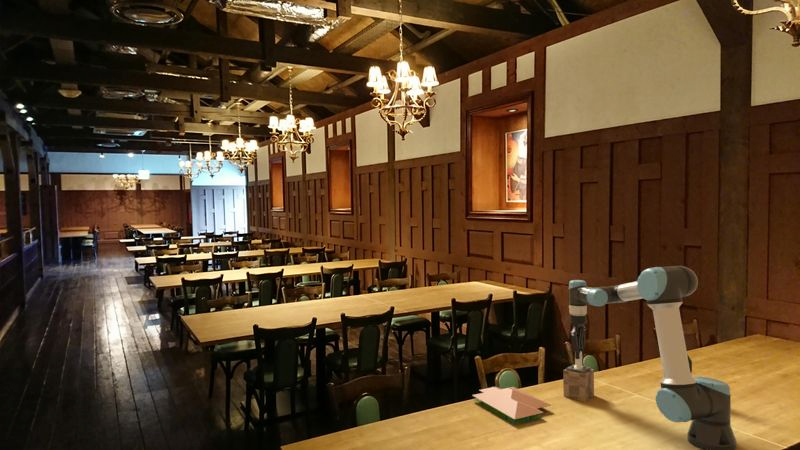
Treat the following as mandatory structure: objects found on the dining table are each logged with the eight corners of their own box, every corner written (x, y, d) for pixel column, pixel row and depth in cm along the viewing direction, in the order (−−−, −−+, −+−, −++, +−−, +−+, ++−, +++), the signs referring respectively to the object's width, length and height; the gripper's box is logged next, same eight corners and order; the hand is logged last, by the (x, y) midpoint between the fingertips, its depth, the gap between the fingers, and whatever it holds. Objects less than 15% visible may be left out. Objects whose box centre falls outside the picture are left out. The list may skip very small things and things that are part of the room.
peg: (581, 394, 230) (580, 368, 230) (572, 392, 233) (572, 366, 233) (584, 392, 233) (584, 366, 233) (576, 390, 236) (576, 364, 236)
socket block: (584, 401, 226) (584, 372, 226) (563, 396, 233) (563, 368, 233) (594, 395, 233) (593, 367, 233) (573, 390, 240) (572, 363, 240)
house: (509, 391, 241) (509, 374, 241) (559, 416, 211) (558, 397, 211) (468, 400, 231) (468, 382, 231) (514, 427, 202) (514, 407, 201)
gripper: (576, 311, 240) (576, 360, 240) (563, 315, 230) (564, 367, 230) (591, 312, 234) (592, 363, 235) (579, 317, 225) (580, 370, 225)
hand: (578, 365), depth 233 cm, fingers closed
